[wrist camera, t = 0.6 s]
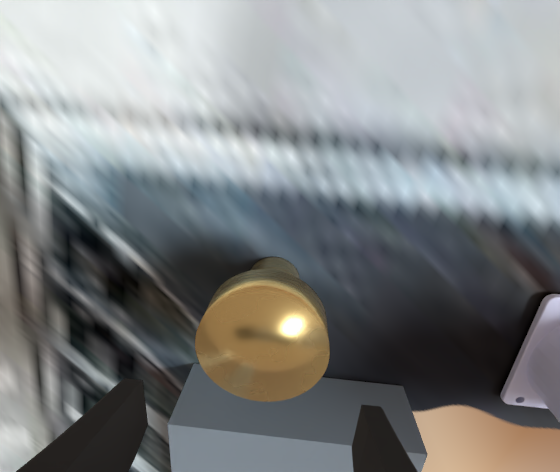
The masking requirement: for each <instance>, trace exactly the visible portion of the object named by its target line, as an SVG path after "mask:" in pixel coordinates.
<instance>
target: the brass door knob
mask: <svg viewBox="0 0 560 472" xmlns="http://www.w3.org/2000/svg"><path fill="white" fill-rule="evenodd" d="M195 349H196V354H197V358H198V360H199V363H200V365H201V367H202V368H203V370H204V371H205V373H206V374H207V375H208V376H209V378H210V379H212V380H213V381H214V382H215V383H216V384H217V385H218V386H220V387H221V388H223V389H224V390H226V391H228V392H230V393H232V394H234V395H236V396H239V397H241V398H245V399H249V400H254V401H262V402H275V401H282V400H287V399H291V398H293V397H296V396H299V395H301V394H303V393H305V392H306V391H308V390H309V389H311V388H312V387H313V386H314V385H315V384H316V383H317V382H318V381H319V380H320V379H321V377H322V376H323V374H324V373H325V371H326V368H327V366H328V362H329V356H330V348H329V338H328V329H327V320H326V313H325V309H324V306H323V304H322V302H321V300H320V298H319V297H318V295H317V294H316V293H315V291H314V290H313V289H312V288H311V287H310V286H309V285H307V284H306V283H305V282H303V281H302V280H300V278H299V274H298V271H297V269H296V268H295V267H294V265H293V264H291V263H290V262H289V261H287V260H285V259H283V258H279V257H267V258H264V259H261V260H259V261H258V262H257V263H255V264H254V266H253V267H252V268H251V270H250V271H246V272H243V273H240V274H237V275H235V276H233V277H231V278H230V279H228V280H227V281H226V282H224V283H223V284H222V285H221V286H220V287H219V288H218V290H217V291H216V292H215V294H214V296H213V297H212V299H211V301H210V304H209V306H208V308H207V310H206V312H205V314H204V316H203V318H202V320H201V322H200V324H199V327H198V329H197V332H196V337H195Z"/></svg>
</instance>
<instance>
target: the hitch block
mask: <svg viewBox="0 0 560 472" xmlns="http://www.w3.org/2000/svg"><path fill="white" fill-rule="evenodd" d="M361 404H362V405H371V406H380V407H381V408H382V409H383V410H384V412H385V414H386V416H387V418H388V420H389V422H390V424H391V425H392V427H393V429H394V431H395V433H396V435H397V437H398V438H399V440H400V442H401V444H402V445H403V447H404V449H405V451H406V452H407V454H408V456H409V458H410V459H411V461H412V463H413V464H414V466H415V468H416V469H417V471H418V472H421V471H422V468H423V465H424V463H425V460H426V457H427V452H426V449H425V446H424V444H423V441H422V438H421V435H420V432H419V430H418V427H417V424H416V421H415V419H414V416H413V413H412V410H411V407H410V404H409V401H408V399H407V396H406V393H405V390H404V387H403V386H398V385H389V384H380V383H371V382H361V381H352V380H343V379H334V378H325V377H321V379H320V380H319V381H318V382H317V383H316V384H315V385H314V386H313V387H312V388H311V389H309V390H308V391H306V392H305V393H303V394H301V395H299V396H296V397H293V398H291V399H287V400H282V401H275V402H262V401H254V400H249V399H245V398H241V397H239V396H236V395H234V394H232V393H230V392H228V391H226V390H224V389H223V388H221V387H220V386H218V385H217V384H216V383H215V382H214V381H213V380H212V379H210V378H209V376H208V375H207V374H206V373H205V371H204V370H203V368H202V367H201V365H200V364H196V363H194V364H193V366H192V369H191V371H190V373H189V376H188V378H187V380H186V383H185V385H184V387H183V390H182V392H181V394H180V397H179V399H178V401H177V403H176V406H175V408H174V410H173V413H172V415H171V417H170V420H169V422H168V436H169V447H170V459H171V470H172V472H353V460H352V443H353V439H354V435H355V430H356V426H357V422H358V417H359V413H360V409H361Z"/></svg>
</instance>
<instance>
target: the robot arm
mask: <svg viewBox="0 0 560 472" xmlns="http://www.w3.org/2000/svg"><path fill="white" fill-rule="evenodd" d="M500 397H501V399H502V400H503V401H504V402H505V403H506V404H511V405H520V406H529V407H538V408H547V409H549V410H550V411H551V412H552V413H553V415H554V416H555V417H556V418H557V419H558V421H559V422H560V294H550V295H547V296H546V297H544V299H543V300H542V302H541V304H540V306H539V309H538V311H537V313H536V315H535V318H534V320H533V322H532V324H531V327H530V329H529V331H528V333H527V336H526V338H525V340H524V342H523V345H522V347H521V349H520V351H519V354H518V356H517V358H516V360H515V362H514V365H513V367H512V369H511V371H510V374H509V376H508V378H507V380H506V383H505V385H504V387H503V389H502V392H501V394H500ZM147 425H148V422H147V413H146V405H145V397H144V388H143V380H135V379H123V380H122V381H121V382H120V383H119V384H117V385H116V386H115V387H114V388H113V389H112V390H111V391H110V392H109V393H108V394H106V395H105V396H104V397H103V398H102V399H101V400H100V401H99V402H98V403H97V404H95V405H94V406H93V407H92V408H91V409H90V410H89V411H88V412H87V413H85V414H84V415H83V416H82V417H81V418H80V419H79V420H77V421H76V422H75V423H74V424H73V425H72V426H71V427H69V428H68V429H67V430H66V431H65V432H64V433H62V434H61V435H60V436H59V437H58V438H57V439H56V440H54V441H53V442H52V443H51V444H50V445H48V446H47V447H46V448H45V449H43V450H42V451H41V452H40V453H38V454H37V455H36V456H35V457H34V458H32V459H31V460H30V461H29V462H27V463H26V464H25V465H24V466H22V467H21V468H20V469H19V470H17V471H16V472H128V471H129V469H130V467H131V465H132V463H133V461H134V459H135V456H136V454H137V451H138V449H139V446H140V444H141V441H142V438H143V436H144V433H145V430H146V428H147ZM352 460H353V472H418V471H417V469H416V468H415V466H414V464H413V463H412V461H411V459H410V458H409V456H408V454H407V452H406V451H405V449H404V447H403V445H402V444H401V442H400V440H399V438H398V437H397V435H396V433H395V431H394V429H393V427H392V425H391V424H390V422H389V420H388V418H387V416H386V414H385V412H384V410H383V409H382V408H381V407H380V406H371V405H362V404H361V409H360V413H359V417H358V422H357V426H356V430H355V435H354V439H353V443H352Z"/></svg>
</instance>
